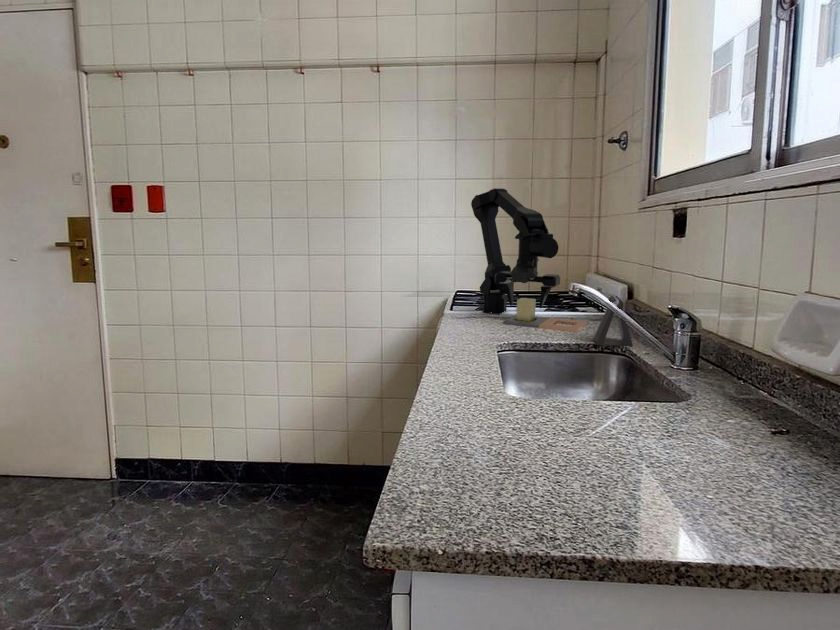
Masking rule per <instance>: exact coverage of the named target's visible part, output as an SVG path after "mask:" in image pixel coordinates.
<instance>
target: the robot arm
mask: <svg viewBox="0 0 840 630" xmlns="http://www.w3.org/2000/svg"><path fill="white" fill-rule="evenodd" d="M470 204H471V205H470V206H471V208H472V212H473V215H474V216H473V217H475V218H476V220H478V222H479V224H480V228H481V233H482V238H483V244H484V250H485V256H486V262H487V267H486V270H485V272H484V280H483V281H482V283H481V284H480V286H479V292H480V294H481V295H484V297H483V310H482V311H483V312H482V313H485V312H492V313H491V314H495V313H501V314H503V313H505V312H507V311H508V310H507V301H508V302H509V305H510V307H511V306H513V305H514V295H515V294H514V292H515V291H514V288H515V286H514V285H515V283H521V284H527V283H528V282H529V283H530V282H531V283H542V285H541V286H540V300H539V309H542V308H543V306H544V304H545V302H546V299H547V296H548V295H549V293H550V292H551V289H554V288H555V287H558V286H559V285H560V284H561V276H560V275H559V274H556V273H555V274H554V273H552V274H549V273H547V274H544V275H541V276H539V272H538V264H539V263H538V262H539V260H540V259H539V258H543V259H544V258H545V259H552V258H554V257H555V256H556V255H557V254H558V252H559V247H560V246H559V244H558V242H557V240H556V239H555V238H554V234H553V233H549V229H548V228H547V226H546V223H545V220H544V217H543V215H542V214H541V212H539V211H537V210H535V209H531V208H529V207H525V206H524V205H523V204H522V203H521V202H520V201H519V200H517V199H516V198H515V197H514V196H513V195H511V194H510V193H509V192H508V190H507V189H505V188H501V187H500V188H497V187H496V188H495V187H494V188H492V189H490V190H488V191H487V192H484V193H483V192H482V193H480V194H476V195H475V196H474V197H473V199H471V203H470ZM499 208H501V209H502V210H503V211H504V213H506V214H507V215H508V216H509V217H511V219H512V224H513V226H514V227H515V229H516V230H517V232H518V234H516V235H515V237H514V239H515V240H518V252H517V253H518V256H517V258H516V264H515V266H514V267H513V268H511V265H509V264H508V265H507V264H506V263H504V260H503V255H502V249H501V243H500V238H499V232H498V228H497V227H498V226H497V221H496V219H497V216H498V213H499ZM506 296H507V298H506ZM507 299H508V300H507ZM506 310H507V311H506ZM504 311H505V312H504ZM502 312H503V313H502Z"/></svg>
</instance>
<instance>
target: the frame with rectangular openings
mask: <svg viewBox="0 0 840 630" xmlns="http://www.w3.org/2000/svg"><path fill="white" fill-rule="evenodd" d="M516 317H517V313H516V314H514V315H512V316H511V317H509V318H507V319H504V320H503V322H502V324H503V325H510V326H517V327H519V326H520V327H527V328H536V329H537V328H538V329H547V330H555V331H563V332H572V333H574V332H575V333H578V332H579V331H581V330H582V329H583V328H584V327H585V326H586V325H588V321H587V320H585V321H584V320H577V319H566V318H557V317H545V316H536V315H535V321H533V322H526V321H516ZM562 324H564V325H562ZM571 325H572V326H571Z"/></svg>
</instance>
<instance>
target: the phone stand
mask: <svg viewBox="0 0 840 630" xmlns="http://www.w3.org/2000/svg"><path fill="white" fill-rule="evenodd" d="M608 300H609V301H610V302H612V303H613V304H614V302H616V301H617V300H618V303H617V305H615V306H617V307H618V308H619V309H621V310H622V311H623V312H624V302H623V300H622V299H621V298H620V297H619V296H618V295H616V296H615V297H614V296H613V295H610V297H609V298H608V299H607V301H608ZM615 314H616V313H614V312H613V311H612V310H611V309H609V308H608V307H607V309H606V310H605V313H604V315H603V317H602V319H601V321H600V324H599V326H598V328H597V330H596V332H595V334H594V337H593V340H594V343H595V345H596V346H602V347H603V346H604V347H607V346H608V347H623V346H629V347H628V348H632V347H633V346H634V344H633V341H632V338H631V334H630V330H629V327H628V325H627V322H626V320H625V321H624V320H623V319H622V318H620V317H619V316H618V315H617V314H616V316H617V322H618V325H619V331H620V336H621V339H617V338H615V339H614V338H613V339H612V338H606V337H607V334H608V333H609V330H610V329H609V328H610V326H611V323H612V320H613V317H614V315H615Z"/></svg>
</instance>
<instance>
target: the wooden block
mask: <svg viewBox="0 0 840 630" xmlns="http://www.w3.org/2000/svg"><path fill="white" fill-rule="evenodd" d="M536 301H537V299H536V298H528V297H521V298H518V299H517V300H516V314H517V317H516V321H526V322H533V321H535V316H536V307H537V306H536V305H537V302H536Z"/></svg>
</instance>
